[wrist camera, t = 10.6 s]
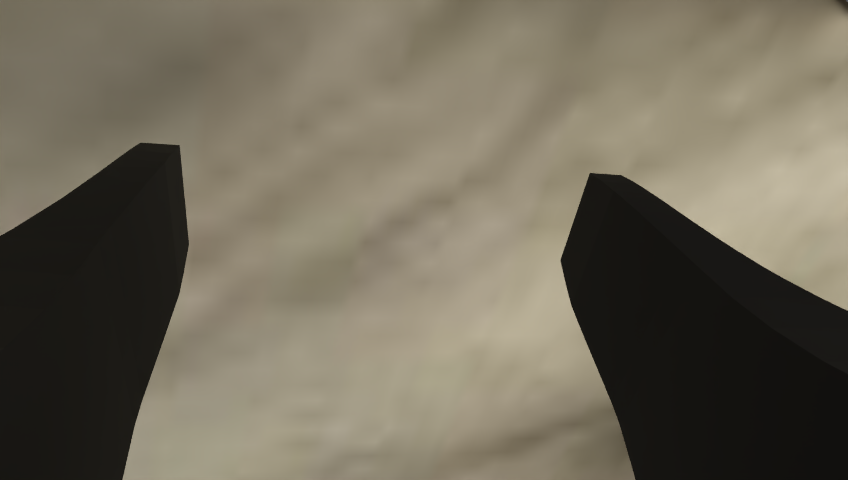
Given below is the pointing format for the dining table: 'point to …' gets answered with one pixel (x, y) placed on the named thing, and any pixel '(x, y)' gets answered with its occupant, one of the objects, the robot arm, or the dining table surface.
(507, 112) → the dining table surface
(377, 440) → the dining table surface
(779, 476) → the robot arm
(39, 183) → the dining table surface
